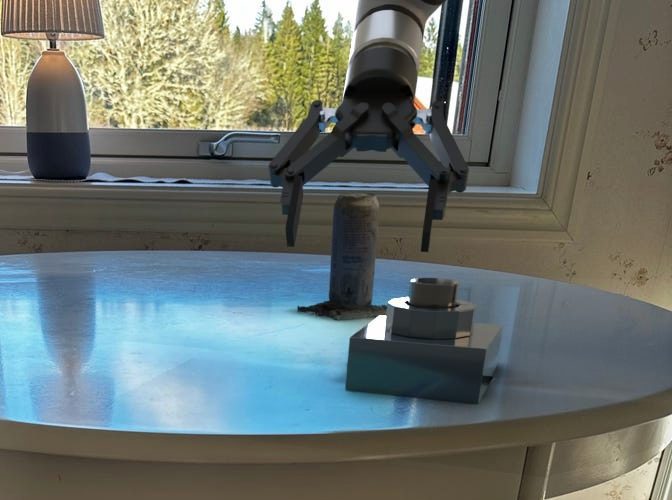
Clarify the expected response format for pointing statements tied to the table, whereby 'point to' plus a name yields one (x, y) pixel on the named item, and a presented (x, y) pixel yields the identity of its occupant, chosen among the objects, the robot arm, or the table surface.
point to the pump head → (433, 293)
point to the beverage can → (352, 260)
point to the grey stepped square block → (424, 353)
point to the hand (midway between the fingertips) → (356, 240)
